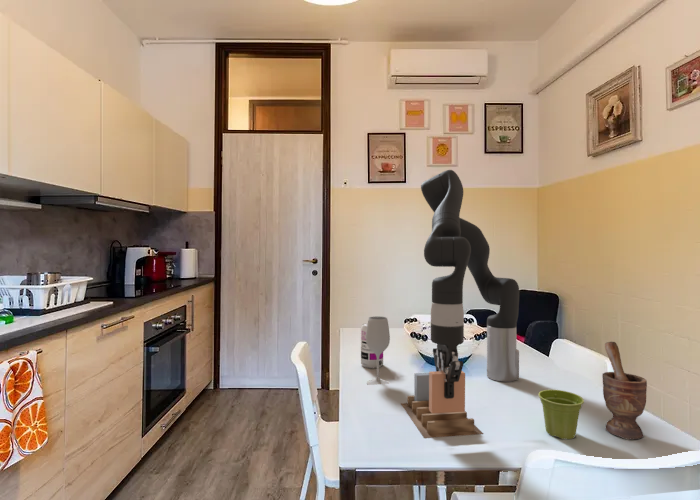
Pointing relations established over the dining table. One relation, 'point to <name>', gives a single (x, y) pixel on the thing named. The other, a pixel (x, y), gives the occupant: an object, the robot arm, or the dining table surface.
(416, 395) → the grey-blue thick slab
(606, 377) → the mortar and pestle
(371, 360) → the supplement can
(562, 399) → the plant pot
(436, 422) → the dish rack
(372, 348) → the wineglass
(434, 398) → the salmon pink rectangular prism
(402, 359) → the dining table surface
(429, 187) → the robot arm
